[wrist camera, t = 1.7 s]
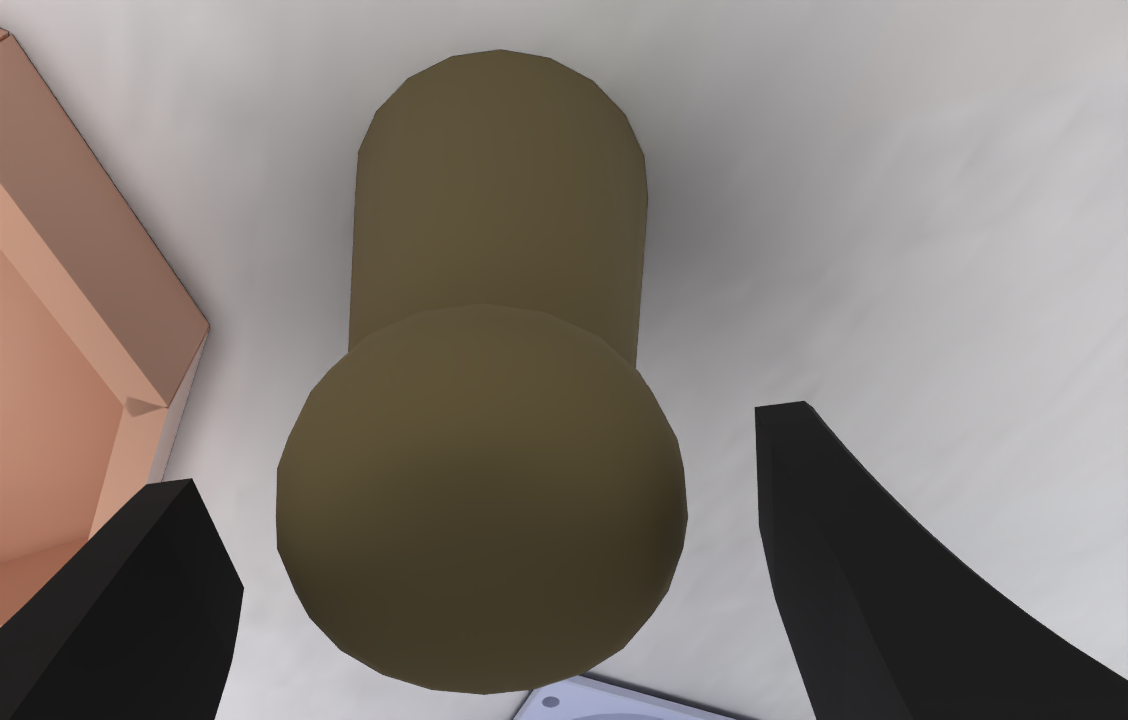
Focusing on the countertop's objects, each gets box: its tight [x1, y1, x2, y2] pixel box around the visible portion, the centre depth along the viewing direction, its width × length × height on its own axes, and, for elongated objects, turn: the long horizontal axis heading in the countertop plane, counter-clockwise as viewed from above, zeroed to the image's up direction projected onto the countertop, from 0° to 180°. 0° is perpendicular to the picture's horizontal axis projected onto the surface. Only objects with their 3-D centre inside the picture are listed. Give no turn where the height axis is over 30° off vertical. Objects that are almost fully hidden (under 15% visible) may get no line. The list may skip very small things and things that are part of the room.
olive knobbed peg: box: [276, 50, 688, 695], centre depth 16 cm, size 6×6×11 cm
